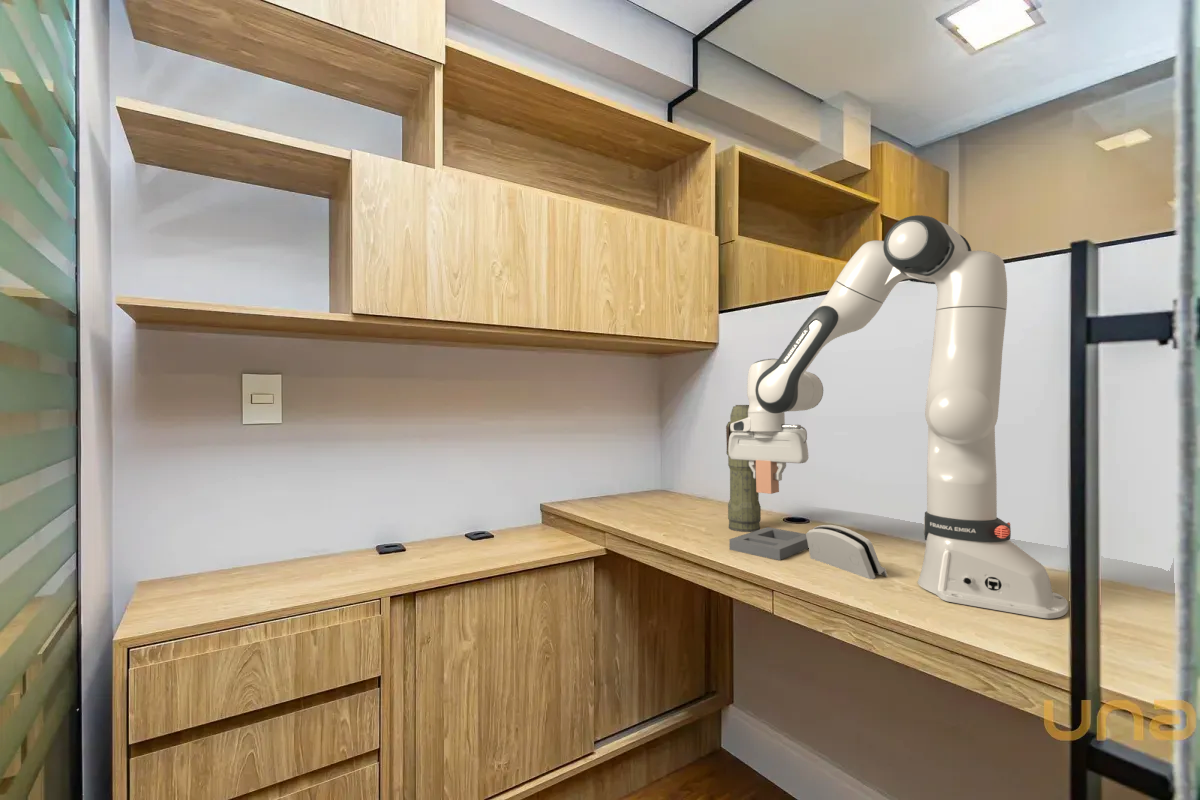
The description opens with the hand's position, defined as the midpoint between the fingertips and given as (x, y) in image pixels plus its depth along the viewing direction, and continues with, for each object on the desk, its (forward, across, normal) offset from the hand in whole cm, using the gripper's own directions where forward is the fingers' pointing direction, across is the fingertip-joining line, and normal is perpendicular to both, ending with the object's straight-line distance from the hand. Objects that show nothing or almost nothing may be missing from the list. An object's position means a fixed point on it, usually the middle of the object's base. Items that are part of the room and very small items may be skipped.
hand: (767, 479), depth 137 cm
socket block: (+16, -2, +1) cm, 17 cm away
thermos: (+16, +14, -12) cm, 25 cm away
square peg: (+3, 0, 0) cm, 3 cm away
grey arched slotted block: (+17, -20, +6) cm, 27 cm away
